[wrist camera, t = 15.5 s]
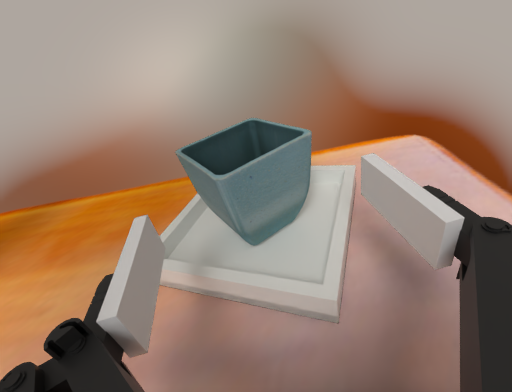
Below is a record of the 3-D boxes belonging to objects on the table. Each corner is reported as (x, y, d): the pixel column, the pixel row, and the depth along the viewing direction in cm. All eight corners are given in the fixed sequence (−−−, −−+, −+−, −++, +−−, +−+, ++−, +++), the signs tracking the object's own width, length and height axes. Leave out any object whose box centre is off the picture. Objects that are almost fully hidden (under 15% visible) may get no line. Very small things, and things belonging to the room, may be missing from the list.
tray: (147, 282, 25) (134, 263, 23) (225, 182, 37) (220, 166, 36) (338, 323, 18) (336, 300, 17) (355, 184, 30) (355, 165, 29)
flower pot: (203, 225, 29) (172, 149, 24) (268, 188, 32) (252, 115, 27) (247, 272, 22) (216, 180, 17) (322, 219, 26) (314, 130, 21)
